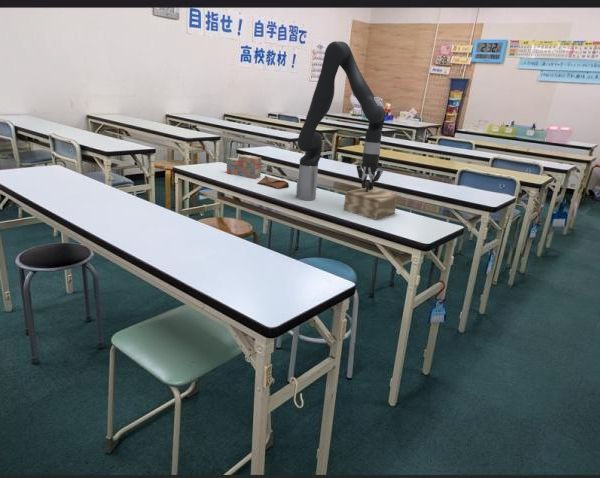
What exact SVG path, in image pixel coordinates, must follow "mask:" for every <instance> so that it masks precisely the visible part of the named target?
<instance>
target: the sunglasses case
mask: <svg viewBox="0 0 600 478" xmlns="http://www.w3.org/2000/svg"><path fill="white" fill-rule="evenodd" d="M256 184H257V185H261V186H266V187H268V188H273V189H276V190H282V189H288V188H289V187H290V185H289V182H288V181H286V180H281V179H278V178H273V177H270V176H267V175H264V177H262V178H261V180H259V181H258V182H257V183H256Z"/></svg>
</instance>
